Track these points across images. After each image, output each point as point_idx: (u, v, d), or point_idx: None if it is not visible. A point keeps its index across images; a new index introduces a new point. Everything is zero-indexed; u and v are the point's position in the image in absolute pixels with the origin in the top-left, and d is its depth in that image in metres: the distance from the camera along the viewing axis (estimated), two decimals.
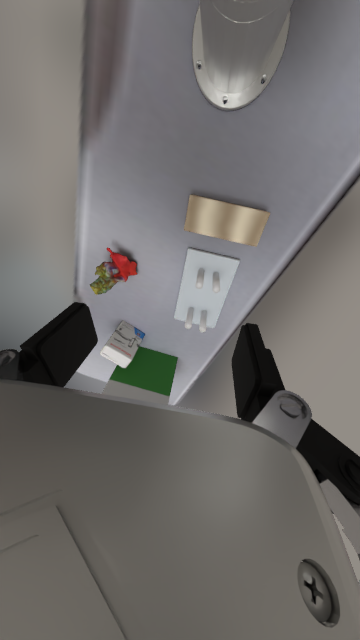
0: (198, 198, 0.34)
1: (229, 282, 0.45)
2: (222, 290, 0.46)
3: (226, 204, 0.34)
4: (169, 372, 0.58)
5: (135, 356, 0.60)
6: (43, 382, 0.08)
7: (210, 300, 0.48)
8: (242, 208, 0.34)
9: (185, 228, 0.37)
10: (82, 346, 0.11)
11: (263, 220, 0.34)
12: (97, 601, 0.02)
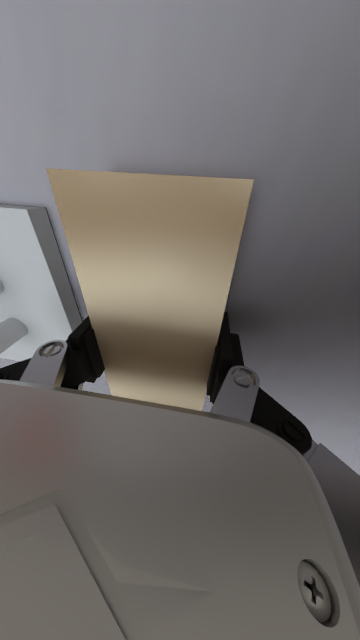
0: (231, 244, 0.06)
1: (26, 358, 0.16)
2: None
3: (209, 358, 0.09)
4: None
5: None
6: (85, 371, 0.09)
7: None
8: (201, 394, 0.11)
9: (61, 180, 0.06)
10: None
11: None
12: (97, 601, 0.02)
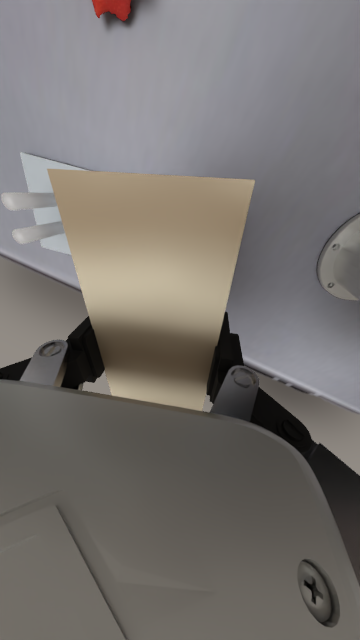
0: (232, 244, 0.06)
1: None
2: None
3: (209, 358, 0.09)
4: None
5: None
6: (85, 371, 0.09)
7: None
8: (201, 394, 0.11)
9: (61, 180, 0.06)
10: None
11: None
12: (97, 601, 0.02)
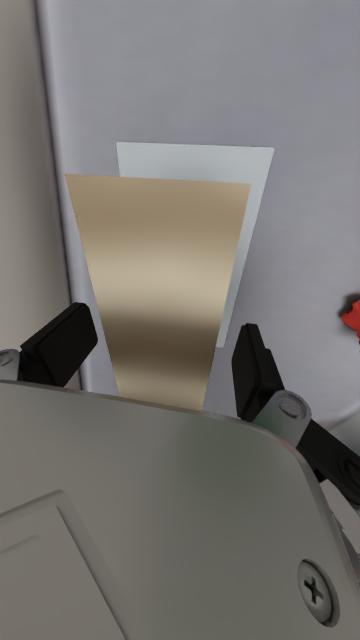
0: (231, 241, 0.06)
1: None
2: None
3: (211, 348, 0.10)
4: None
5: None
6: (43, 382, 0.08)
7: None
8: (203, 384, 0.11)
9: (77, 184, 0.06)
10: (82, 346, 0.11)
11: None
12: (97, 601, 0.02)
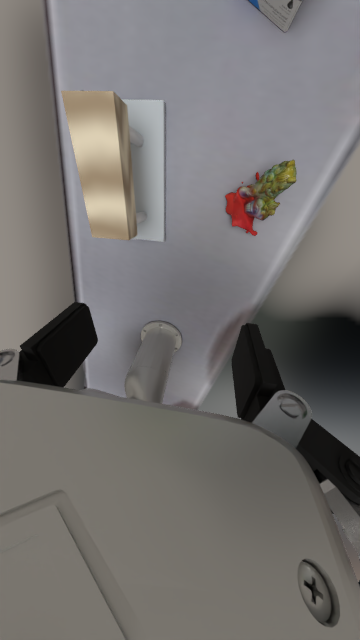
0: (113, 113, 0.21)
1: None
2: None
3: (120, 173, 0.24)
4: None
5: None
6: (43, 382, 0.08)
7: None
8: (123, 200, 0.25)
9: (65, 94, 0.20)
10: (82, 346, 0.11)
11: (120, 234, 0.28)
12: (97, 601, 0.02)
